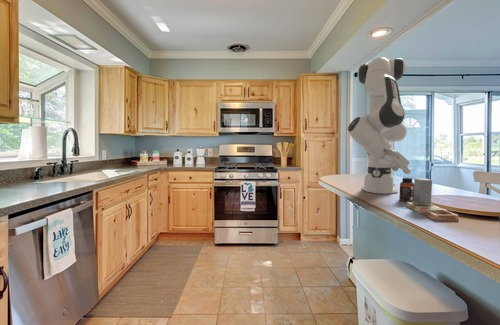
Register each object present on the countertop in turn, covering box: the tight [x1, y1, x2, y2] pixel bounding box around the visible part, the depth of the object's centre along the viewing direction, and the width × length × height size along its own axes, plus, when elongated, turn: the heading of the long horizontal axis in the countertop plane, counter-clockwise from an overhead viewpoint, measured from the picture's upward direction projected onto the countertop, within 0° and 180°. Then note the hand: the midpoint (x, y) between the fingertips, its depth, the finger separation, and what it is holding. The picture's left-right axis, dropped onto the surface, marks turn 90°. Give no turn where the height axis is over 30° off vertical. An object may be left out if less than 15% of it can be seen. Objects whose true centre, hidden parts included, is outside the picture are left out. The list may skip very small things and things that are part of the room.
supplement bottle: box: [398, 177, 414, 203], centre depth 121 cm, size 6×6×11 cm
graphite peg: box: [413, 178, 433, 207], centre depth 107 cm, size 4×4×13 cm
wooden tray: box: [406, 201, 460, 222], centre depth 102 cm, size 19×8×2 cm, turn 176°
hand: (402, 171), depth 107 cm, fingers open, 8 cm apart
